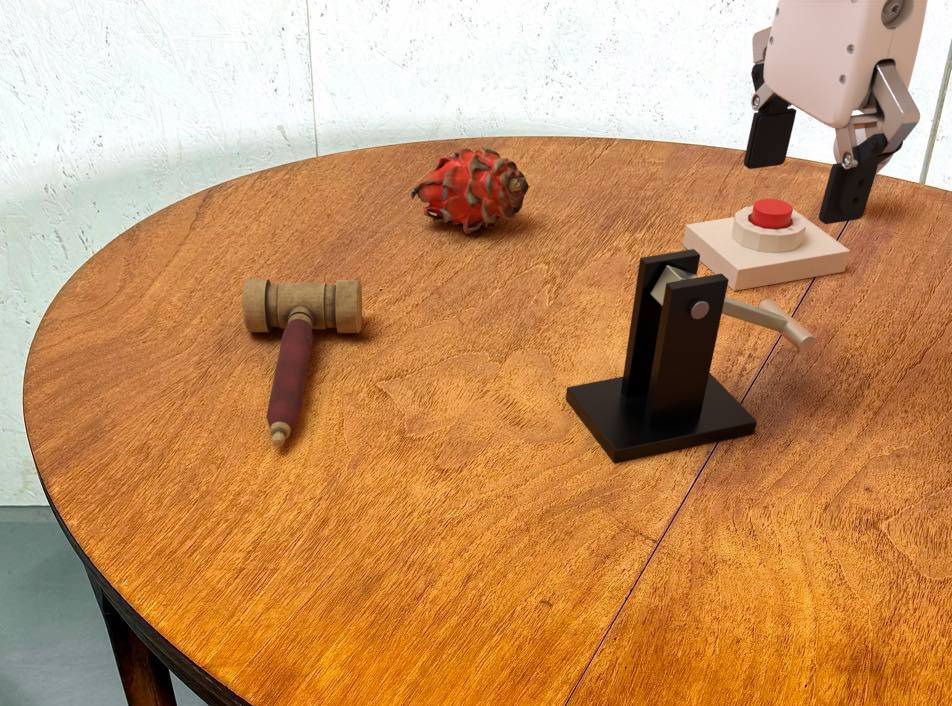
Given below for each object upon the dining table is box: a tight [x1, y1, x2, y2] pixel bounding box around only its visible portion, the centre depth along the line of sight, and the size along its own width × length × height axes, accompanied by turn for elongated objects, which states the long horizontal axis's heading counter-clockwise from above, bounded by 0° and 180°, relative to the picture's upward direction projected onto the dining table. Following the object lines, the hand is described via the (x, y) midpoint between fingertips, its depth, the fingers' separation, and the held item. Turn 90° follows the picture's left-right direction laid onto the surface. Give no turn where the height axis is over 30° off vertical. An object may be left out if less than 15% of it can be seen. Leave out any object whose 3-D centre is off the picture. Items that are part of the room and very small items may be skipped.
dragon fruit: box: [410, 146, 531, 235], centre depth 108 cm, size 8×8×12 cm
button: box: [750, 198, 794, 230], centre depth 101 cm, size 4×4×2 cm
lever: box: [651, 265, 817, 354], centre depth 79 cm, size 13×6×2 cm, turn 108°
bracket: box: [565, 249, 758, 464], centre depth 80 cm, size 12×9×13 cm
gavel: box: [242, 278, 363, 448], centre depth 87 cm, size 21×5×10 cm
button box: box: [682, 205, 851, 292], centre depth 103 cm, size 12×10×4 cm
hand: (799, 191), depth 76 cm, fingers open, 9 cm apart
